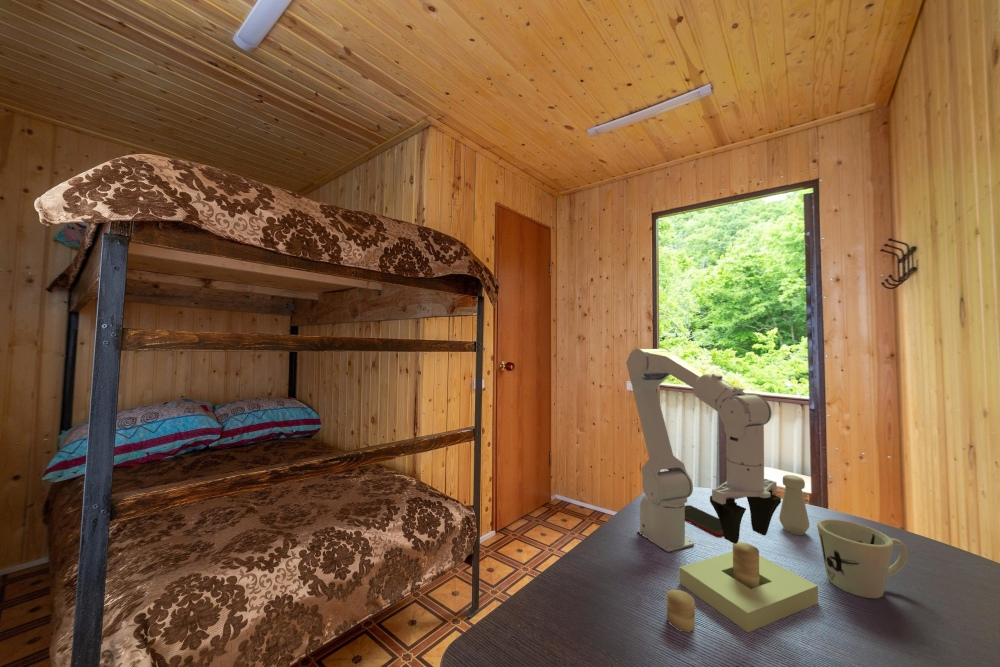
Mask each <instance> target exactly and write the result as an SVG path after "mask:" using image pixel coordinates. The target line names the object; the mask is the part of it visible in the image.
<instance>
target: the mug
mask: <svg viewBox="0 0 1000 667" xmlns="http://www.w3.org/2000/svg"><path fill="white" fill-rule="evenodd" d="M816 526H817V530H818V537H819V541H820V546H821V547H820V548H821V552H822V557H823V562H824V565H825V571H826V576H827V578H828V580H829V582H831V583H832V584H833V585H834V586H835V587H838V588H839V589H840V590H842V591H845V592H847V593H848V594H849V593H850V594H851V595H854V596H858V597H862V598H867V599H880V598H882V597H884V592H885V588H886V583H887V579H888V578H889V577H892V576H894V575H895V574H897V573H898V572H899V571H901V570H902V569H903V568H904V566H906V563H907V562H908V560H909V551H908V548H907V546H906V544H905V543H903V541H901V539H897V538H894V537H890V536H888V535H887V534H885V533H884V532H881V531H880V530H877V529H874V528H872V527H869V526H866V525H864V524H860V523H857V522H853V521H848V520H841V519H833V518H832V519H831V518H830V519H827V518H826V519H821V520H818V522H817V525H816ZM894 546H896V547H898V549H899V554H898V557H897V559H896V560H895V561H894V563H892V564H891V558H892V553H893V549H894ZM890 564H891V565H890Z"/></svg>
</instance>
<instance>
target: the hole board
mask: <svg viewBox="0 0 1000 667" xmlns="http://www.w3.org/2000/svg"><path fill="white" fill-rule="evenodd" d="M680 583H681V584H682V585H681V584H680ZM679 584H680V585H681V586H683V587H684V586H685V587H686V588H685V589H687V590H688V591H690V592H691V593H693V594H694V595H695V596H697V597H698V598H699V599H700V600H702V601H703V602H705V603H707V604H708V605H709V606H710V607H711V608H713V609H715V611H718V613H720V614H722V615H723V616H724V617H725V618H727V619H729V620H730V621H731V622H733V624H736V625H737V626H738V627H739V628H740V629H742V630H743V631H745V632H746V633H748V634H749V633H751V632H754V631H755V630H758V629H760V628H762V627H765V626H768V625H770V624H772V623H774V622H777V621H779V620H782V619H785V618H786V617H788V616H791V615H793V614H796V613H798V612H800V611H803V610H806V609H807V608H810V607H812V606H815V605H818V604H819V585H818V584H815V583H813V582H812V581H810V580H807V579H806V578H804V577H802V576H801V575H799V574H797V573H795V572H792V571H790V570H788V569H787V568H784V567H783V566H780V564H777V563H775V562H772V560H769V559H768V558H765V557H764V556H761V555H759V586H758V587H755V588H753V589H750V588H748V587H747V586H745V585H743V584H742V583H740V582H739V581H737V580H735V579H734V578H733V550H732V551H729V552H727V553H722V554H719V555H715V556H712V557H710V558H706V559H702V560H699V561H695V562H693V563H688V564H686V565H681V566H679Z"/></svg>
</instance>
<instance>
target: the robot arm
mask: <svg viewBox="0 0 1000 667" xmlns="http://www.w3.org/2000/svg"><path fill="white" fill-rule="evenodd" d="M625 364H626V366H627V371H628V375H629V376H628V377H629V380H630V384H631V389H632V393H633V397H634V401H635V405H636V409H637V413H638V417H639V421H640V426H641V430H642V434H643V438H644V442H645V447H646V450H647V455H648V459H647V461H646V462H645V463H644V464H643V465H642V467H641V469H640V470H641V474H642V479H641V480H642V482H641V483H642V485H641V486H642V490H643V492H644V496H643V497H642V498H641V500H640V502H639V503H640V504H639V529H637V530H636V532H637V531H638V532H639V533H641V534H642V535H641V534H640V535H641V536H643V535H644V536H645V537H644V536H643V537H644V538H645V539H647V538H648V539H647V540H649V541H650V542H652V543H653V544H655V545H656V546H658V547H659V548H661V549H662V548H663V549H662V550H664V551H665V552H667V553H669V552H673V551H677V550H681V549H685V548H688V547H692V546H695V542H694V541H692V540H690V539H689V538H687V537H686V520H685V506H686V505H685V504H686V503H688V498H689V497H691V496H692V494H693V491H694V484H693V482H692V481H693V480H692V479H691V476H690V475H689V473H688V471H687V469H686V466H685V463H684V462H682V460H680V459H678V458H677V457H676V456H674V453H673V449H672V445H671V441H670V437H669V435H668V430H667V426H666V423H665V422H666V421H665V419H664V415H663V410H662V406H661V402H660V399H659V395H658V391H657V389H658V387H659V385H660V384H662V383H664V381H666V379H667V378H668V377H669V376H672V377H674V378H675V379H677V380H679V381H680V382H682V383H684V384H686V385H688V386H689V387H691V388H692V391H693V394H694V396H695V397H696V398H697V399H699V400H700V401H701V402H703V403H704V404H706V405H708V407H710V408H712V410H715V411H716V412H717V413H718V415H719V418H720V419H721V421H722V423H723V426H724V428H723V430H724V433H725V435H726V481H725V482H724V483H722V484H720V486H717V487H716V488H712V489H711V495H710V496H709V503H710V504H711V506H712V507H713V509H714V511H715V513H716V515H717V518H719V520H720V524H721V527H722V531H723V534H724V536H723V537H724V540H726V541H728V542H730V543H732V544H733V543H734V544H736V543H738V542H739V540H740V532H741V531H740V530H741V524H742V519H743V517H744V514H745V513H746V511H747V508H745V507H743V506H741V505H739V504H738V503H737V502H736V500H738V499H743V498H746V499H747V500H746V501H747V504H748V508H749V511H750V512H749V513H750V524H751V528H752V531H753V532H755V533H757V534H760V535H761V536H766V535H767V534H768V530H769V527H770V524H771V521H772V517H773V515H774V513H775V511H776V509H777V508H778V507H779V505H780V504H782V498H781V497H780V496H778V495H777V494H775V493H777V482H776V481H774V480H771V479H768V478H765V438H764V437H765V425H767V424H768V423H769V422H770V421H771V418H772V415H773V414H772V408H771V405H770V403H769V402H768V401H767V399H765V397H763V396H762V395H761V394H759V393H748V394H747V393H746V392H744V389H743V388H741V387H740V386H734V385H732V384H731V383H729V382H727V381H726V380H725V379H724V378H723V375H721V374H719V373H702V372H700V371H699V370H697V369H696V368H694V367H693V366H692V365H690V364H689V363H687V362H686V361H685V360H684V359H682V358H680V357H679V355H678V353H677V352H675V351H672V350H671V349H669V348H634V349H633V350H631V352H630V353H629V355H628V358H627V360H626V362H625ZM661 470H663V471H661ZM638 532H637V533H638ZM639 533H638V534H639Z"/></svg>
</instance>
